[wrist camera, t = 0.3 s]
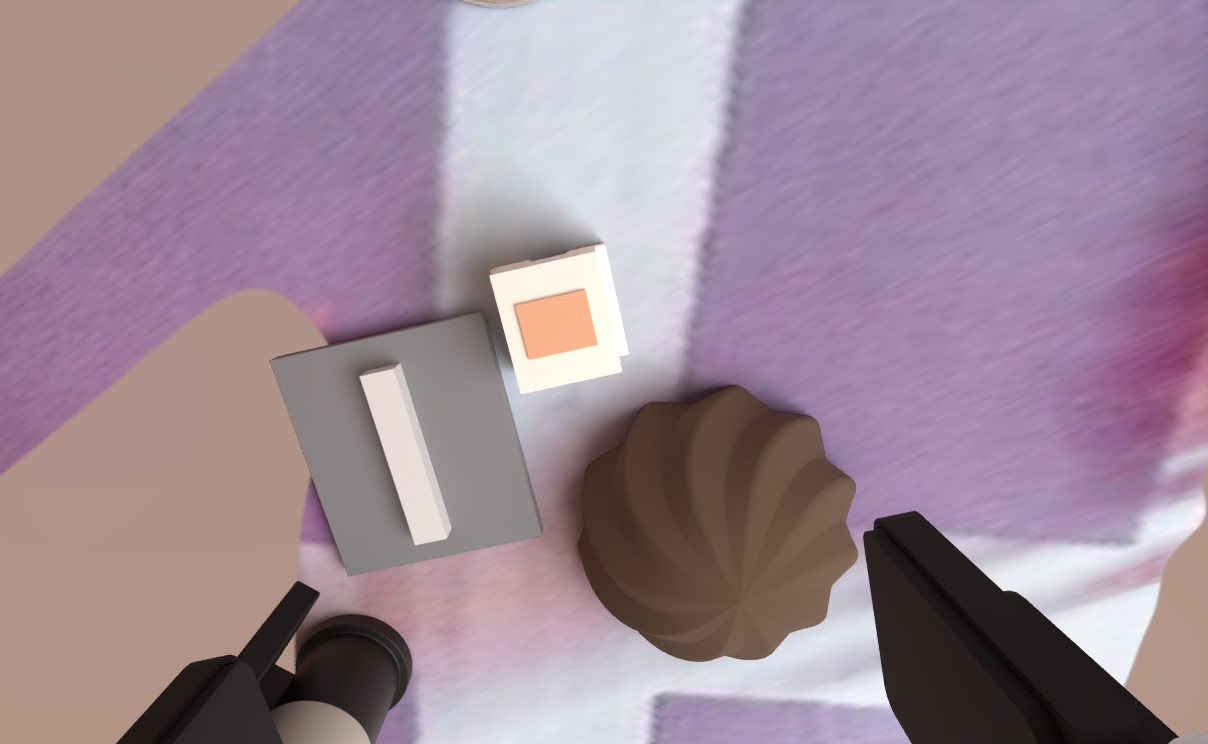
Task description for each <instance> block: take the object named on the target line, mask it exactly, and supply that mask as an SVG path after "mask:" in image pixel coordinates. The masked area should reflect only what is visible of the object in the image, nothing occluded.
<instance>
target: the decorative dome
mask: <svg viewBox="0 0 1208 744" xmlns="http://www.w3.org/2000/svg"><path fill="white" fill-rule="evenodd" d="M855 492H856V484H855V482H854V480H853V479H852V478H851V477H849V476H848V475H846V474H845V473H843V472H842V471H841V470H839V469H838V468H836V467H835V466H834V465H833V464H831V463H830V462H829V461H828V460H827V459H826V456H825V451H824V446H823V441H822V435H821V430H820V426H819V423H818V421H817V420H816V419H815V418H813V417H809V416H802V415H795V414H789V413H782V412H776V411H772V410H770V409H769V408H768V407H767V406H765V405H764V404H763V403H762V402H760V401H759V400H758V399H757V398H755V397H754V396H753V395H752V394H750V393H749V392H748V391H747V390H745V389H744V388H743V387H741V386H739V385H732V386H729V387H727V388H725V389H723V390H720V391H718V392H716V393H714V394H712V395H710V396H708V397H706V398H704V399H702V400H700V401H698V402H696V403H672V402H650V403H648V404H646V405H645V406H644V407H643V408H642V410H641V411H640V413H639V415H638V416H637V418H636V419H635V421H634V423H633V425H632V427H631V428H630V431H629V433H628V435H627V437H626V439H625V441H624V442H623V443H621V444H619V445H618V446H616V447H615V448H613V449H611V450H610V451H608V452H606V453H605V454H603V455H602V456H600V457H598V458H597V459H595V460H594V461H592V462H591V463H590V464H589V465H588V467H587V471H586V476H585V482H584V492H583V515H584V522H585V528H584V530H583V533H582V535H581V538H580V540H579V543H578V546H579V551H580V556H581V560H582V563H583V566H584V570H585V573H586V575H587V578H588V580H589V582H590V584H591V586H592V588H593V590H594V592H595V594H596V595H597V597H598V598H599V600H600V601H601V603H602V604H603V605H604V606H605V607H606V609H607V610H608V611H609V612H610V613H611V614H612V615H613V616H615V617H616V618H617V619H618V620H620V621H621V622H622V623H624V624H625V625H627V626H629V627H630V628H632V629H634V630H637V631H638V632H639V633H640V634H641V635H642V636H643V637H644V638H645V639H646V640H648V641H649V642H650V643H651V644H653V645H654V646H655V647H657V648H658V649H660V650H661V651H663V652H665V653H667V654H669V655H671V656H674V657H676V658H679V659H683V660H687V661H694V662H704V661H710V660H713V659H716V658H719V657H722V656H728V657H732V658H736V659H742V660H757V659H762V658H765V657H767V656H769V655H771V654H772V653H773V652H774V651H775V649H776V648H777V647H778V646H779V645H780V644H781V643H782V641H783V640H784V639H785V638H786V637H787V636H788V634H789V633H791V632H794V631H797V630H801V629H805V628H808V627H813V626H815V625H818V624H819V623H821V622H822V621H823V620H824V619H825V618H826V615H827V609H828V603H829V597H830V591H831V587H832V585H833V584H834V583H835V582H836V581H837V580H838V579H839V578H840V577H841V576H842V575H843V574H844V573H845V572H846V571H847V570H848V569H849V568H850V567H851V566H852V565H853V564H854V563H855V562H856V561H857V558H858V551H857V548H856V546H855V544H854V542H853V539H852V537H851V535H850V532H849V530H848V527H847V525H846V518H847V515H848V512H849V508H850V505H851V502H852V500H853V497H854V494H855Z"/></svg>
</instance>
